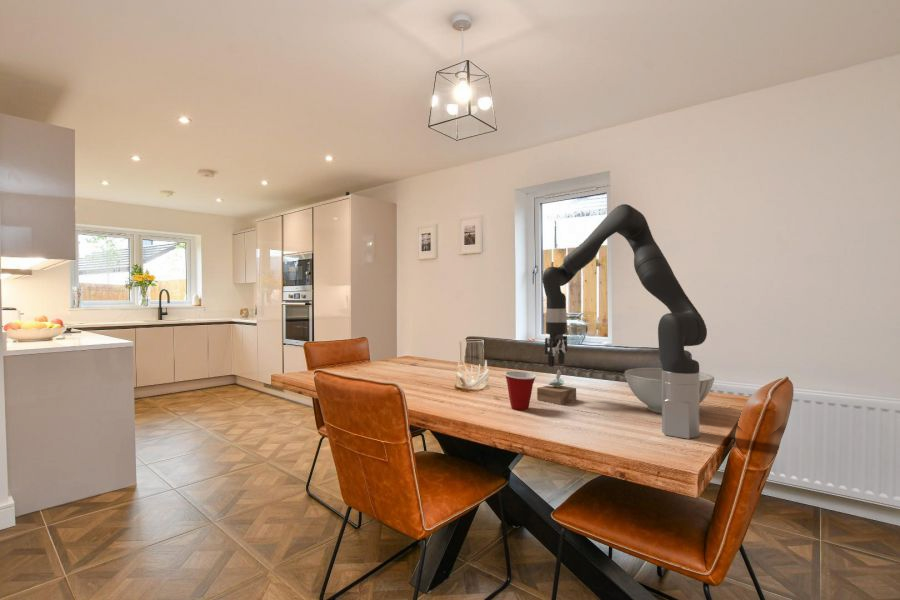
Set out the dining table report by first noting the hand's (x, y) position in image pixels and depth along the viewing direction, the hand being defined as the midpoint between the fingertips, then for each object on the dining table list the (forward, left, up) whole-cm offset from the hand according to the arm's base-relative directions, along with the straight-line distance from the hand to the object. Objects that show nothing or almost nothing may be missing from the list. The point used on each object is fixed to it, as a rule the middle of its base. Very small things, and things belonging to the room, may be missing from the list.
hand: (556, 365), depth 166 cm
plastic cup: (-20, +4, -13) cm, 24 cm away
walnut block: (-1, -1, -13) cm, 13 cm away
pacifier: (+1, +1, -8) cm, 9 cm away
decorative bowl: (+8, -36, -13) cm, 39 cm away
